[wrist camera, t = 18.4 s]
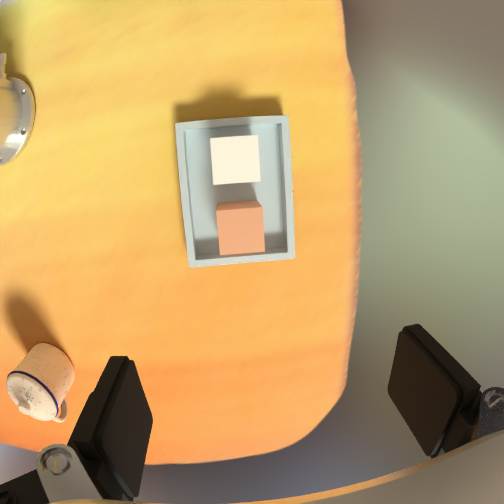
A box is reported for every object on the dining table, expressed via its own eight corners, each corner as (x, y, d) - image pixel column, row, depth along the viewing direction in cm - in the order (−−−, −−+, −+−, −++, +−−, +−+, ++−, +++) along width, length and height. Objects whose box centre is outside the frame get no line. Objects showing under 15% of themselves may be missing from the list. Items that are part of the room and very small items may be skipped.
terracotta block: (217, 202, 36) (216, 210, 30) (257, 199, 36) (262, 207, 31) (220, 241, 37) (220, 255, 32) (259, 238, 37) (265, 251, 32)
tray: (178, 125, 33) (175, 123, 31) (284, 118, 34) (288, 115, 32) (191, 260, 38) (189, 267, 36) (290, 252, 39) (294, 258, 36)
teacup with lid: (22, 343, 40) (-13, 384, 29) (60, 337, 40) (25, 383, 29) (55, 399, 43) (31, 444, 32) (94, 397, 43) (73, 447, 32)
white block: (212, 141, 34) (210, 138, 28) (252, 138, 34) (257, 135, 29) (215, 180, 35) (213, 184, 30) (255, 177, 35) (260, 181, 30)
